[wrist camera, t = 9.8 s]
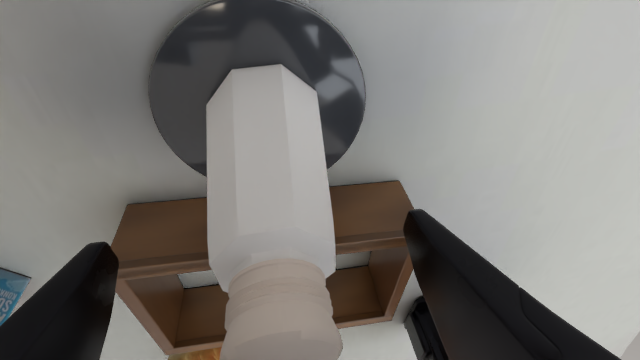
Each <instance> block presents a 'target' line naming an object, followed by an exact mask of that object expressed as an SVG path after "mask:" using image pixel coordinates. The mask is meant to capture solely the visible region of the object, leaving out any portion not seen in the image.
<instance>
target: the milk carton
mask: <svg viewBox="0 0 640 360" xmlns="http://www.w3.org/2000/svg"><path fill="white" fill-rule="evenodd" d="M30 279H31V278H30V277H26V276H23V275H20V274H17V273H14V272H11V271H7V270H4V269H1V268H0V326H1V325H2V324H3V323H4V322H5V321H6V320H7V319H8V318H9V316H10V314H11V313H12V311H13V309H14V307H15V306H16V304H17V302H18V300H19V299H20V297H21V295H22V293H23V292H24V290H25V288H26V286H27V285H28V283H29V281H30Z"/></svg>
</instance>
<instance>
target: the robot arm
mask: <svg viewBox="0 0 640 360" xmlns="http://www.w3.org/2000/svg"><path fill="white" fill-rule="evenodd" d="M403 233H404V237H405V240H406V244H407V247H408V251H409V255H410V258H411V262H412V265H413V269H414V272H415V275H416V278H417V281H418V283H419V286H420V288H421V291H422V293H423V296H424V298H420V299H417V300H416V301H415V303H414V305H413V307H412V309H411V311H410V313H409V315H408V317H407V319H406V321H405V323H404V327H405V329H407V332H408V334H409V337H410V340H411V343H412V345H413V348H414V351H415V354H416V357H417V359H418V360H621V359H620V358H618V357H617V356H615V355H614V354H612V353H611V352H609V351H608V350H607V349H605V348H604V347H602V346H601V345H599V344H598V343H596V342H595V341H593V340H592V339H591V338H589V337H588V336H586V335H585V334H583V333H582V332H580V331H579V330H577V329H576V328H575V327H573V326H572V325H570V324H569V323H567V322H566V321H565V320H563V319H562V318H560V317H559V316H558V315H556V314H555V313H553V312H552V311H551V310H549V309H548V308H547V307H545V306H544V305H543V304H541V303H540V302H539V301H538V300H536V299H535V298H534V297H532V296H531V295H530V294H529V293H527V292H526V291H525V290H523V289H522V288H519V286H518V285H517V284H516V283H515V282H513V281H512V280H511V279H509V278H508V277H507V276H506V275H504V274H503V273H502V272H501V271H499V270H498V269H497V268H496V267H494V266H493V265H492V264H491V263H489V262H488V261H487V260H486V259H484V258H483V257H482V256H480V255H479V254H478V253H477V252H475V251H474V250H473V249H472V248H470V247H469V246H468V245H467V244H465V243H464V242H463V241H462V240H460V239H459V238H458V237H457V236H455V235H454V234H453V233H452V232H450V231H449V230H448V229H446V228H445V227H444V226H443V225H441V224H440V223H439V222H438V221H436V220H435V219H434V218H433V217H431V216H430V215H429V214H428V213H426V212H425V211H424V210H422V209H414V210H410V211H409V212H408V213H407V216H406V219H405V222H404V225H403ZM118 269H119V260H118V257H117V256H116V254H115V253H114V252H113V250H112V249H111V247H110V246H109V244H108V243H106V242H96V243H90V244H88V245H86V246H85V247H84V248H83V249H82V250H81V251H80V252H79V253H78V254H77V255H76V256H74V257H73V258H72V259H71V260H70V261H69V262H68V263H67V264H66V265H65V266H64V267H63V268H62V269H61V270H59V271H58V272H57V273H56V274H55V275H54V276H53V277H52V278H51V279H50V280H49V281H48V282H47V283H46V284H44V285H43V286H42V287H41V288H40V289H39V290H38V291H37V292H36V293H35V294H34V295H33V296H32V297H31V298H29V299H28V300H27V301H26V302H25V303H24V304H23V305H22V306H21V307H20V308H19V309H18V310H17V311H16V312H14V313H13V314H12V315H11V316H10V317H9V318H8V319H7V320H6V321H5V322H4V323H3V324H2V325H1V326H0V360H99V359H100V355H101V352H102V348H103V344H104V341H105V337H106V334H107V330H108V326H109V322H110V318H111V313H112V308H113V301H114V295H115V288H116V282H117V275H118Z"/></svg>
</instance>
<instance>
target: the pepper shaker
mask: <svg viewBox="0 0 640 360" xmlns="http://www.w3.org/2000/svg"><path fill="white" fill-rule="evenodd" d="M206 123H207V242H208V256H209V265H210V267H211V269H212V271H213V273H214V275H215V277H216V279H217V281H218V283H219V285H220V287H221V288H222V290H223V291H224V292H227V293H228V296H229V298H230V299H229V301H228V303H227V304H226V313H225V329H226V331H227V333H226V336H225V339H224V342H223V345H222V348H221V352H220V360H337V359H338V358H339V356H340V354H341V352H342V349H343V343H342V339H341V335H340V333H339V331H338V329H337V327H336V325H335V323H334V321H333V319H332V315H333V307H332V306H331V299H330V293H329V292H328V290H327V288H326V287H325V286H326V281H325V279H326V278H327V277H329V276H330V275H331V274H333V273H334V272H335V269H336V252H335V236H334V223H333V215H332V207H331V199H330V191H329V183H328V175H327V168H326V160H325V152H324V144H323V136H322V128H321V121H320V113H319V105H318V97H317V92H316V91H315V90H314V89H312V88H311V87H310V86H309V85H307V84H306V83H305V82H303V81H302V80H301V79H300V78H298V77H297V76H296V75H295V74H293V73H292V72H291V71H289V70H288V69H287V68H286V67H284V66H283V65H282V64H277V65H268V66H259V67H249V68H240V69H232V70H231V71H230V73H229V74H228V75H227V77H226V78H225V80H224V81H223V82H222V84H221V85H220V87H219V88H218V89H217V91H216V92H215V94H214V95H213V96H212V98H211V99H210V101H209V102H208V103H207V105H206Z"/></svg>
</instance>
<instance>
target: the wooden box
mask: <svg viewBox="0 0 640 360" xmlns="http://www.w3.org/2000/svg"><path fill="white" fill-rule="evenodd" d="M329 191H330V199H331V207H332V215H333V223H334V236H335V252H336V255H339V254H348V253H356V252H364V251H371V255H370V259H369V263H368V266H364V267H356V268H348V269H341V270H335V272H334V273H333V274H331V275H330V276H329V277H327V278H326V279H325V281H326V286H325V287H326V288H327V290H328V292H329V293H330V299H331V306H332V307H333V315H332V319H333V321H334V323H335V325H336V327H337V329H341V328H347V327H353V326H360V325H366V324H373V323H379V322H386V321H391V320H392V318H393V316H394V313H395V310H396V308H397V306H398V303H399V301H400V299H401V296H402V294H403V292H404V289H405V287H406V285H407V282H408V280H409V278H410V275H411V273H412V271H413V265H412V262H411V258H410V255H409V251H408V247H407V244H406V240H405V237H404V233H403V225H404V222H405V219H406V216H407V213H408V212H409V211H410V210H414V207H413V206H412V204H411V202H410V200H409V198H408V196H407V194H406V192H405V190H404V188H403V186H402V185H401V183H400V181H393V182H381V183H370V184H358V185H347V186H335V187H329ZM111 249H112V250H113V252H114V253H115V254H116V256H117V257H118V260H119V269H118V275H117V282H116V288H115V292H116V293H117V294H118V295H119V297H120V298H121V299H122V300H123V302H124V303H125V304H126V305H127V307H128V308H129V309H130V310H131V312H132V313H133V314H134V315H135V317H136V318H137V319H138V320H139V322H140V323H141V324H142V326H143V327H144V328H145V329H146V331H147V332H148V333H149V334H150V336H151V337H152V338H153V339H154V341H155V342H156V343H157V344H158V346H159V347H160V348H161V349H162V351H163V352H164V353H165V355H173V354H179V353H186V352H192V351H199V350H205V349H212V348H218V347H222V345H223V342H224V339H225V336H226V333H227V331H226V329H225V313H226V304H227V303H228V301H229V299H230V298H229V296H228V293H227V292H224V291H223V290H222V288H221V287H220V285H215V286H207V287H199V288H191V289H184V288H183V286H182V284H181V282H180V280H179V278H178V276H177V274H181V273H189V272H197V271H206V270H212V269H211V267H210V265H209V256H208V242H207V198H198V199H186V200H175V201H164V202H152V203H141V204H129V205H127V207H126V209H125V212H124V214H123V217H122V219H121V222H120V224H119V227H118V229H117V232H116V234H115V237H114V239H113V242H112V244H111Z"/></svg>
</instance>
